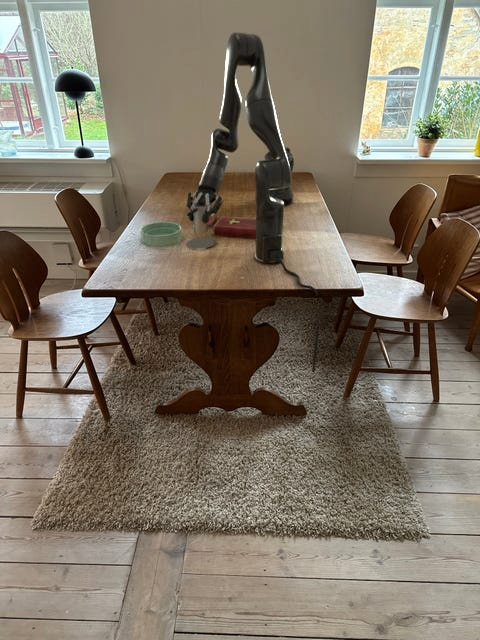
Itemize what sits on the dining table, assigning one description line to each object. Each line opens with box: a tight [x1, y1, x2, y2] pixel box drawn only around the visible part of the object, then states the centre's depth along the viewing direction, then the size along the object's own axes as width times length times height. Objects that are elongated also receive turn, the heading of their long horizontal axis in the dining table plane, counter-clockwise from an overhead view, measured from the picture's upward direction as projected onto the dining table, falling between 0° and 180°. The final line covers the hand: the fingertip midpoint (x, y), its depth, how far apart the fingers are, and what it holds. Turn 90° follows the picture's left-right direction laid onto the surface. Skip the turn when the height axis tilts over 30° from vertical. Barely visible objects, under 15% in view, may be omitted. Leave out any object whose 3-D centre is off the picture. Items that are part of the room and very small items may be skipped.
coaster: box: [187, 237, 216, 250], centre depth 170 cm, size 10×10×1 cm
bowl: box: [140, 221, 183, 247], centre depth 173 cm, size 15×15×4 cm
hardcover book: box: [212, 215, 256, 240], centre depth 179 cm, size 12×21×4 cm, turn 76°
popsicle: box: [207, 213, 217, 228], centre depth 191 cm, size 4×2×15 cm
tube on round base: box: [186, 203, 208, 235], centre depth 163 cm, size 11×5×10 cm, turn 156°
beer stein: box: [264, 144, 295, 207], centre depth 210 cm, size 16×19×25 cm
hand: (197, 221), depth 164 cm, fingers closed on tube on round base, 5 cm apart
